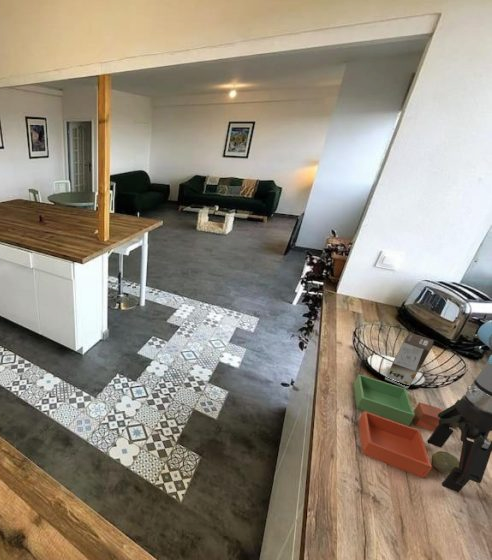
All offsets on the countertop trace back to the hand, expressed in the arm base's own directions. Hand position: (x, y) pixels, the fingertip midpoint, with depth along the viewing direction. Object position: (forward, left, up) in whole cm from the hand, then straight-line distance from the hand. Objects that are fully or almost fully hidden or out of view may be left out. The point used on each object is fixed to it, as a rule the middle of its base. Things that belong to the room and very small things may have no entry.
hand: (441, 465), depth 79 cm
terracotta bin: (+10, 0, -1) cm, 10 cm away
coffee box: (+3, -36, -1) cm, 36 cm away
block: (0, -16, -1) cm, 16 cm away
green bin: (+10, -18, -1) cm, 21 cm away
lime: (0, 0, -1) cm, 1 cm away
